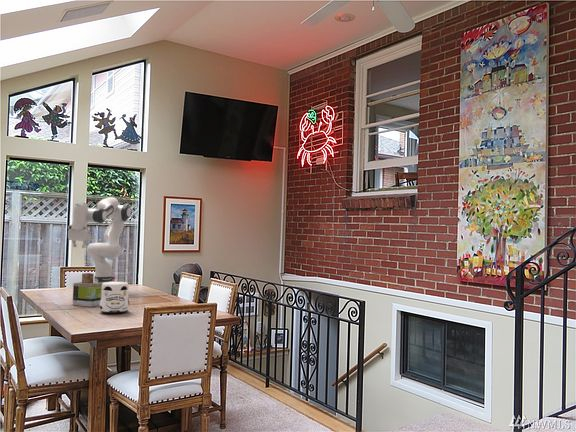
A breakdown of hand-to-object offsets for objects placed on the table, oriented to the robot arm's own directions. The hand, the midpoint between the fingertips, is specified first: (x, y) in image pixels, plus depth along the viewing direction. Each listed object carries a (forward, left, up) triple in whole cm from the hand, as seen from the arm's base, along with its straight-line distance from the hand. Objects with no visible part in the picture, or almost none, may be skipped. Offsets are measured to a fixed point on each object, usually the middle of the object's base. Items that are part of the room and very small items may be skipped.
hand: (79, 247), depth 332 cm
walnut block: (+2, +13, -22) cm, 26 cm away
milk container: (+7, +46, -37) cm, 60 cm away
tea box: (+2, +13, -37) cm, 40 cm away
